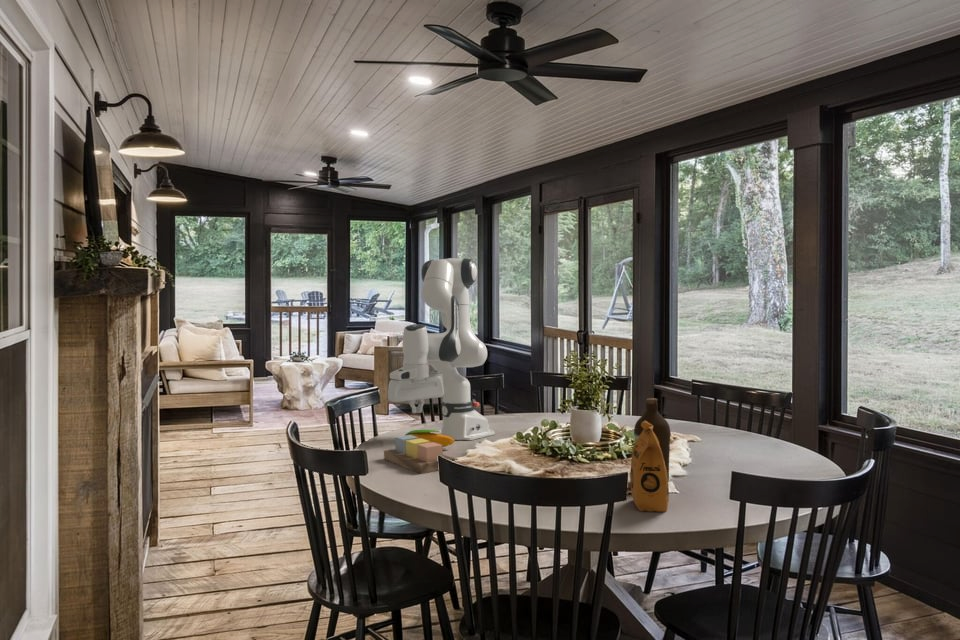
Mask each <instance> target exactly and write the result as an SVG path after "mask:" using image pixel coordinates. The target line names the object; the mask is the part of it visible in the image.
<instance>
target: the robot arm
mask: <svg viewBox="0 0 960 640" xmlns="http://www.w3.org/2000/svg"><path fill="white" fill-rule="evenodd" d="M477 275H478V267H477V264H476V262H475V261H474V260H473V259H471V258H467V257H465V258H458V257H455V258H454V257H453V258H452V257H449V258H443V259H442V258H441V259H440V258H439V259H429V260H427V261H425V262H424V263H423V265H422V266H421V279H422V287H421V297H422V299H421V300H423V302H424V303H425V305H426V306H427V307H428V308H431V309H433V310H434V311H438V312H440V313H441V323H442V326H443V327H444V328H445V329H446V330H445V331H444V332H441V333H440V332H437V333H433V332H432V333H431V332H428V329H427V327H426V325H425V324H421V323H416V324H415V323H414V324H409V325H407V326H405V327H404V329H403V332H402V333H403V335H402V354H403V361H402V367H400V368H398V369H396V370H393V371H391V372H390V373H389V378H390V379H391V380H390V381H389V383H388V385H387V386H388V388H387V398H388V400H389V401H390V402H391V403H400V402H401V403H402V402H408V404H409V406H410V408H411V413H412V414H420V413H423V407H424V405H425V402H426V401H425V400H426V399H435V398H436V399H437V398H442V403H441V404H442V405H441V407H442V408H441V412H442V425H441V432H440V434H441V435H446V436H449V437H451V438H453V439H454V440H455V441H457V440H458V441H472V440H477V439H480V438H481V439H482V438H486V437H490V436H494V435H496V431H494V430H493V429H491V428H490V426H489V421H488V419H487V417H485V416H483V415H482V414H480V413H479V412H478V411H477V410H475V408H479V406H480V402H478V401H472V400H471V398H472V397H471V383H470V381H469V380H468V378H466V377H465V376H463V375H461V374H460V373H459V371H458V369H457V368H475V367H480V366H483V365H484V364H485V362H486V360H487V359H488V348H487V347H486V344H485V343H484V342H483V341H481V340H480V339H479V338H478V337H477V335H476V334H475V332H474V330H473V327H472V324H471V317H470V316H471V314H470V313H471V311H470V309H471V308H470V291H469V289H470V287H471V286H473V285H474V284H475V282H476V281H477ZM430 366H431V367H432V368H433V369H434V370H430ZM416 401H417V402H418V405H417V406H416V405H415V404H416Z"/></svg>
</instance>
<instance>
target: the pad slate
mask: <svg viewBox="0 0 960 640" xmlns="http://www.w3.org/2000/svg"><path fill="white" fill-rule="evenodd" d="M404 435H405V434H404ZM404 435H400V436H399V435H398V436H395V437H394V441H395V442H394V444H395V446H394V447H395V448H394V449H395V451H397V452H400V453H403V454H404V453H406V441H407V440H413V439H418V437H416V436H413V435H405V436H404Z"/></svg>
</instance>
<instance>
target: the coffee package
mask: <svg viewBox="0 0 960 640" xmlns="http://www.w3.org/2000/svg"><path fill="white" fill-rule="evenodd" d="M641 427H643V428H644V429H643V431H642V433H641V434H640V436H639V437H638V439H637V440H636V442H635V441H634V444H633V447H632V450H631V451H632V452H631V461H630V470H629V471H630V473H629V474H630V475H629V477H630V478H629V480H630V491H631V492H630V493H631V497H632V500H633V503H634V504H635V506H636V508H637V510H638V511H640V512H655V513H656V512H659V513H660V512H661V513H663V512H665V513H666V512H667V510H668V503H669V499H670V498H669V497H670V492H669V491H670V489H669V482H668V476H667V469H666V466H665V462H664V458H663V455H662V451H661V448H660V445H659V441H658V439H657V437H656V435H655V434H654V432H653V431H652V430H653V425H652V424H650V423H648V422H647V421H644V422H642V423H641Z"/></svg>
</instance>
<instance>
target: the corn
mask: <svg viewBox="0 0 960 640" xmlns="http://www.w3.org/2000/svg"><path fill="white" fill-rule="evenodd" d="M405 435H413V436H416V437H418V439H420V438H422V439H425V440H428V441H430V442H434V443H438V444H441V445H442V448H445V447H448V446H452V445H453V444H454V443H455V442H456V440H454V439H453V438H451V437H449V436H446V435H441V432H440V431H439V430H434V429H414V430H410V431H408V432H407V433H406V434H404V435H403V436H405Z"/></svg>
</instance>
